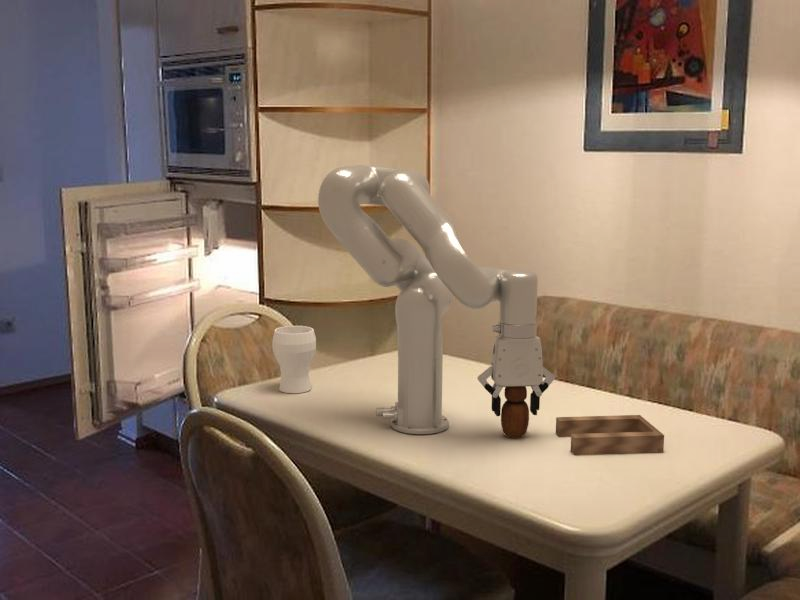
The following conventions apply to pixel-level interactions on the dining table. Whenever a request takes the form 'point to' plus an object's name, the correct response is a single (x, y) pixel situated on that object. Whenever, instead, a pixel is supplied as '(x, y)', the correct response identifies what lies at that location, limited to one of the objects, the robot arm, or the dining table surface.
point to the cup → (294, 356)
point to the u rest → (610, 434)
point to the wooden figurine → (515, 412)
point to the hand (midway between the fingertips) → (515, 413)
